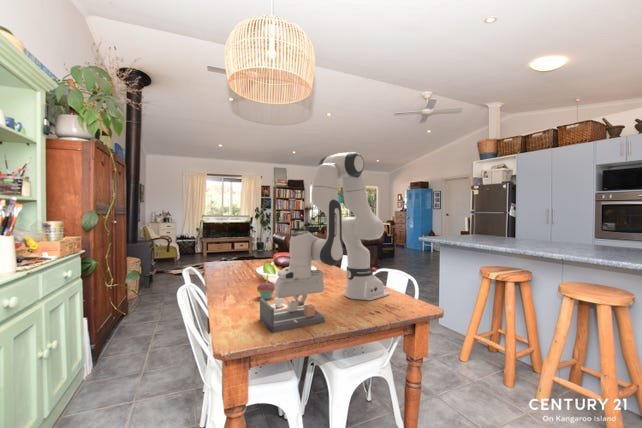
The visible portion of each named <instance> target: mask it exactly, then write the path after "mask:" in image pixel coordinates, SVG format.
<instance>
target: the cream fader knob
mask: <svg viewBox="0 0 642 428" xmlns="http://www.w3.org/2000/svg"><path fill="white" fill-rule="evenodd" d="M298 307H299V306H298V302H297V301H296V300H295V299H291V300H290V299H289V300H287V309H288V310H289V311H290V312H293V311H298Z"/></svg>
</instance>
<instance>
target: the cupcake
mask: <svg viewBox="0 0 642 428" xmlns="http://www.w3.org/2000/svg"><path fill="white" fill-rule="evenodd" d="M275 286H276V285H275V284H273V283H270V282H269V273H267V275H266V282H262V283H260V284H259V285H258V286H257V287H256V290H257V293H258V292H259V294H260V295H259V296H260V298H263V299H264V300H269V299H270V300H271V299H272V296H273V294H274V293H275Z"/></svg>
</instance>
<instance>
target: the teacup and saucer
mask: <svg viewBox="0 0 642 428" xmlns="http://www.w3.org/2000/svg"><path fill="white" fill-rule="evenodd" d="M284 302H285V299H284V298H278V297H277V296H276V297H274V304H269V305H270V306H271V307H272V308H273V309H274V311H280V310H286V309H288V304H285V303H284ZM282 306H283V307H282ZM281 307H282V308H281Z"/></svg>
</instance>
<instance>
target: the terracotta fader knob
mask: <svg viewBox="0 0 642 428" xmlns="http://www.w3.org/2000/svg"><path fill="white" fill-rule="evenodd" d="M303 307H304V315H305V316H307V317H311V316H315V310H316V309H315V306H314V304H311V303H310V304H304V306H303Z"/></svg>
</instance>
